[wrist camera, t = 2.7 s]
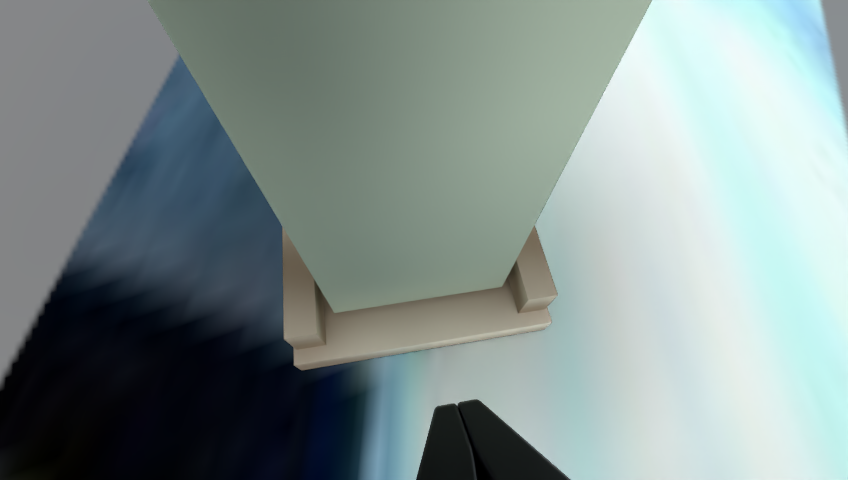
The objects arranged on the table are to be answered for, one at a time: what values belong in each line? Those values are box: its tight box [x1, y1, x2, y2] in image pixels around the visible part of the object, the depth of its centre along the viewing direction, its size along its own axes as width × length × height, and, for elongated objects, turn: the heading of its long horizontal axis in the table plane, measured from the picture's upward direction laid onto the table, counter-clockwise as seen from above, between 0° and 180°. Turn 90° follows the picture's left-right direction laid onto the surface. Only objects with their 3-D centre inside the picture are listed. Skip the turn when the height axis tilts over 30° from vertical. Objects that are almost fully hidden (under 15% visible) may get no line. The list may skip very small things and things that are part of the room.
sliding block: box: [147, 0, 652, 313], centre depth 9 cm, size 5×6×15 cm
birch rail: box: [282, 225, 558, 370], centre depth 18 cm, size 17×9×2 cm, turn 10°
